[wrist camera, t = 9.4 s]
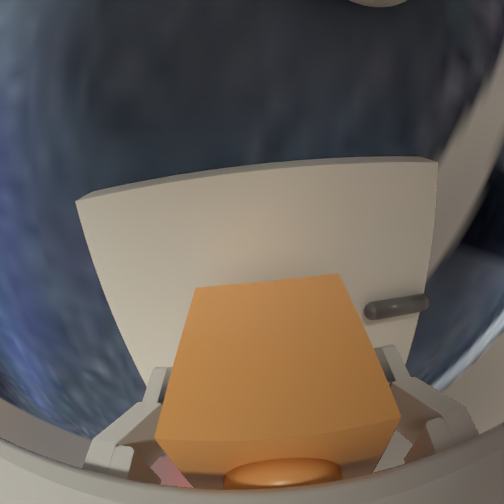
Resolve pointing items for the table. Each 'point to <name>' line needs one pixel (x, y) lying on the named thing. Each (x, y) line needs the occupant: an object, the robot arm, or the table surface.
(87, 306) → the table surface
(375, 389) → the orange cube with dome
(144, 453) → the robot arm
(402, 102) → the table surface
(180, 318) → the plate
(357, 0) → the rainbow segmented toy
